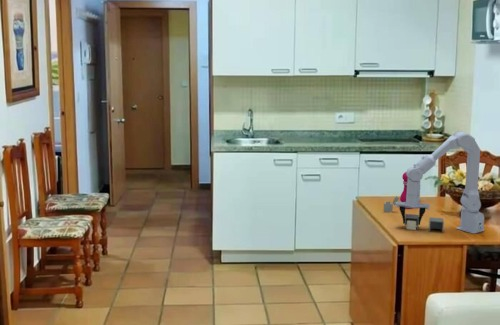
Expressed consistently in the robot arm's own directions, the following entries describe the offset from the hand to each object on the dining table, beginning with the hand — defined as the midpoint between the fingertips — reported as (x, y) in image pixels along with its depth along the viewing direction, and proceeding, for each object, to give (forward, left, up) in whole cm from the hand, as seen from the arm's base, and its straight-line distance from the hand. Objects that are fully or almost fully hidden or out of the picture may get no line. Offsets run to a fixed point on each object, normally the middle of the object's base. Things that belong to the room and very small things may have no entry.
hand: (411, 223), depth 266 cm
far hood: (0, 0, -1) cm, 1 cm away
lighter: (+25, -14, -2) cm, 28 cm away
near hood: (-8, -6, -2) cm, 11 cm away
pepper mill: (+27, -28, -2) cm, 39 cm away
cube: (0, 0, -2) cm, 2 cm away
